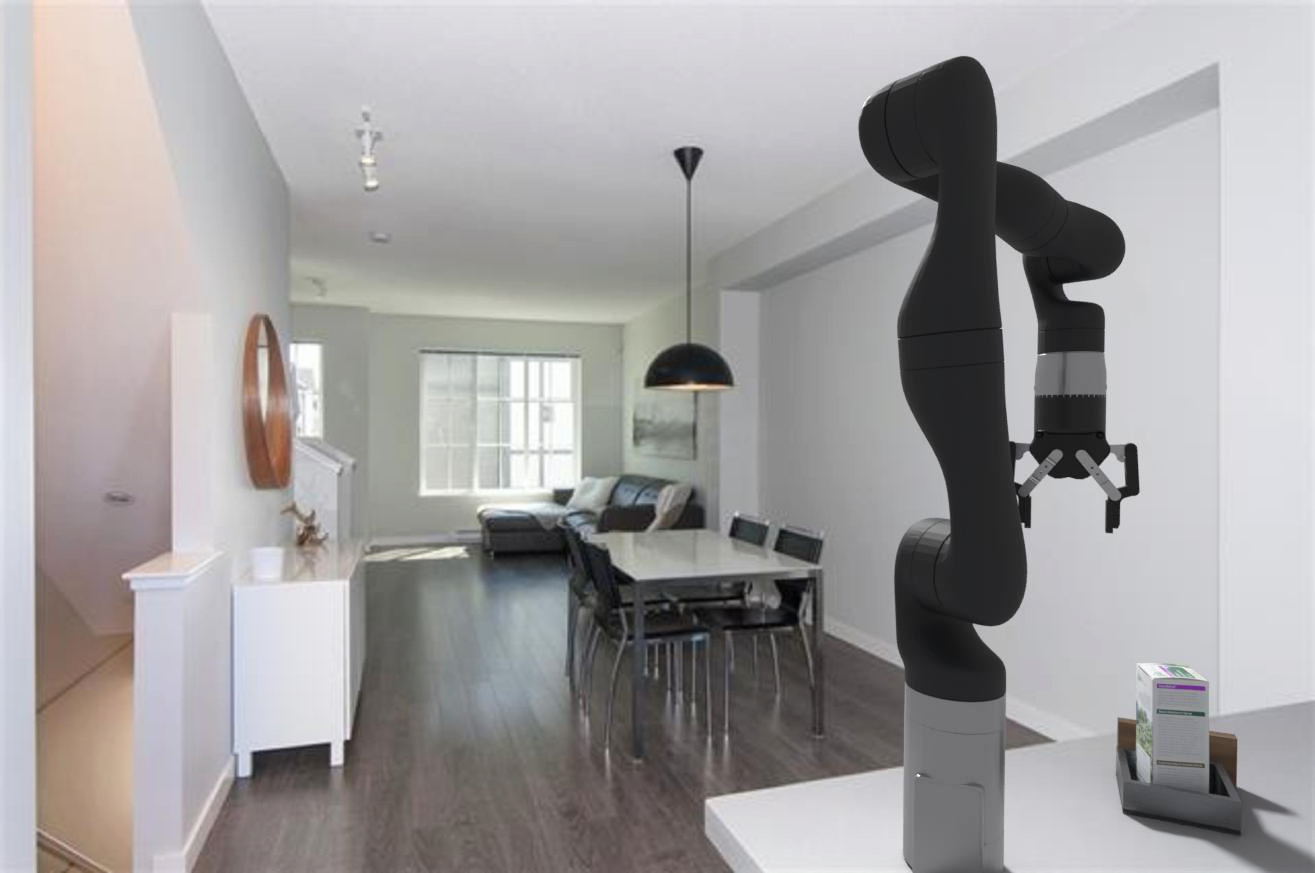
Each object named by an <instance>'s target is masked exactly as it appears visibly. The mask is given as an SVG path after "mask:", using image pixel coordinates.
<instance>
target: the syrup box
mask: <svg viewBox="0 0 1315 873" xmlns="http://www.w3.org/2000/svg"><path fill="white" fill-rule="evenodd" d="M1135 671H1136V677H1135V679H1136V681H1135V682H1136V683H1135V686H1136V688H1135V704H1136V705H1135V707H1136V709H1135V712H1136V713H1135V714H1136V715H1135V716H1136V719H1135V720H1136V781H1141V782H1147V783H1152V784H1158V785H1164V786H1169V787H1175V788H1181V789H1186V790H1192V791H1198V792H1203V793H1209V731H1210V703H1209V702H1210V683H1209V682H1210V681H1209V680H1207V679H1206V678H1204V677H1203V676H1202V675H1200V674H1199V673H1197V672H1196V671H1195V670H1193V669H1192V668H1191V667H1189V666H1188V665H1181V664H1174V663H1163V662H1143V663H1142V662H1136V666H1135Z"/></svg>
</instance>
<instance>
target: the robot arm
mask: <svg viewBox="0 0 1315 873" xmlns="http://www.w3.org/2000/svg"><path fill="white" fill-rule="evenodd" d="M997 116H998V115H997V105H996V98H995V93H994V89H993V84H992V82H991V80H990V78H989V75H988V73H987V71H986V69H985V67H984V65H982V63H981V62H980V61H979V60H978V59H976V58H974V57H973V56H968V55H959V56H955V57H952V58H949V59H946V60H943V61H941V62H940V61H939V62H937V63H935V64H932V65H931V66H929V67H926V68H924V69H922V70H919V71H917V72H914V73H911V74H910V75H907V76H905V77H902V78H899V79H897V80H894V81H893V82H891V83H888V84H886V85H884V86H882V87H880V88H878V89H877V90H875V91H874V92H873V93H872V94H870V95H869V96H868V98H867V99H866V100H865V101H864V103H863V105H862V107H861V110H860V113H859V117H858V125H857V126H858V128H857V131H858V140H859V144H860V148H861V150H862V152H863V155H864V158H865V159H866V160H867V162H868V164H869V165H870V166H871V168H872V169H873V170H874V171H875V172H876V173H877V174H878V175H879V176H881V177H882V178H884V179H885V180H887V181H889V182H890V183H893V184H895V185H897V186H899V187H901V188H904V189H906V190H908V191H911V192H913V193H916V194H918V195H920V196H922V197H925V198H927V199H928V200H931V201H934V202H936V203H937V211H936V216H935V217H936V218H935V222H934V227H933V230H932V233H931V237H930V238H929V242H928V245H927V247H926V249H925V251H924V253H923V255H922V258H921V260H920V261H919V263H918V266H917V268H916V270H915V273H914V275H913V277H912V279H911V281H910V283H909V285H908V287H907V289H906V292H905V295H904V297H903V299H902V301H901V305H900V308H899V312H898V316H897V322H896V323H897V324H896V331H897V332H896V334H897V335H896V336H897V347H898V348H897V350H898V361H899V374H900V383H901V388H902V392H903V394H904V397H905V400H906V403H907V405H908V407H909V409H910V411H911V413H912V415H913V417H914V419H915V422H916V423H917V425H918V427H919V428H920V430H921V432H922V433H923V436H925V439H926V441H927V442H928V444H929V446H930V448H931V449H932V451H933V453H934V455H935V457H936V460H937V462H938V464H939V466H940V469H941V471H942V475H943V479H944V482H945V486H946V487H945V488H946V492H947V501H948V511H949V518H942V517H928V518H927V517H926V518H923V519H921V520H919V521H916V522H915V523H913V524H912V525H911V526H910V527H908V529H907V530H906V532H905V533H904V534H903V536H902V538H901V540H900V542H899V544H898V547H897V551H896V555H895V559H894V560H895V561H894V571H893V572H894V574H893V582H894V584H893V586H894V591H893V592H894V612H895V613H894V615H895V617H894V618H895V634H896V635H895V636H896V645H897V646H896V647H897V650H898V653H899V656H900V659H901V661H902V663H903V666H904V709H903V710H904V712H903V786H902V787H903V789H902V790H903V792H902V793H903V796H902V798H903V800H902V802H903V803H902V805H903V806H902V807H903V808H902V855H903V858H904V859H905V862H907V864H908V865H909V866H910V867H911V868H912V869H911V872H912V873H1004V869H1005V868H1004V867H1005V865H1004V864H1005V862H1004V861H1005V858H1004V857H1005V792H1006V791H1005V789H1006V788H1005V786H1006V784H1005V782H1006V776H1005V775H1006V724H1007V719H1006V718H1007V715H1006V714H1007V670H1006V665H1005V664H1004V661H1003V660H1002V658H1001V657H1000V656H998V655H997V653H996V652H994V650H992V649H991V648H990V647H989V646H988V645H987V644H986V643H985V642H984V640H983V639H982V638H981V637H980V635H979V633H978V632H977V630H976V629H975V626H974V625H977V626H983V627H997V626H1001V625H1003V624H1006V623H1007V622H1009V621H1010V620H1011V619H1012V618H1013V617H1014V616H1016V614H1017V612H1018V611H1019V609H1020V608H1021V605H1022V603H1023V600H1024V597H1025V593H1026V589H1027V583H1028V560H1027V558H1028V556H1027V549H1026V542H1025V537H1024V530H1023V524H1024V529H1031V528H1032V496H1031V492H1032V491H1034V489H1035V488H1036V487H1037V486H1038V485H1039V484H1040V483H1041V481H1043V479H1044V478H1045V477H1046V476H1048V477H1050V478H1053V479H1055V480H1057V479H1058V480H1059V479H1061V480H1062V479H1066V478H1071V479H1074V480H1085V479H1087V478H1089V477H1092V479H1094V481H1095V482H1096V483H1097V484H1098V486H1099V487H1100V488H1101V489H1102V491H1104V493H1105V494H1106V496H1107V499H1105V502H1104V503H1105V506H1104V507H1105V509H1104V510H1105V512H1104V514H1105V516H1104V517H1105V518H1104V532H1105V534H1114V529H1119V527H1120V525H1121V502H1122V501H1123V500H1124V499H1126V498H1130V497H1136V496H1138V495H1139V494H1140V491H1141V490H1140V489H1141V488H1140V472H1139V468H1140V467H1139V454H1138V453H1139V452H1138V446H1137V445H1136V444H1135V443H1133V442H1127V443H1124V444H1122V443H1120V444H1119V443H1118V444H1109V441H1108V440H1107V437H1106V434H1107V389H1108V384H1107V380H1108V379H1107V378H1108V377H1107V374H1108V372H1107V364H1106V358H1105V352H1106V351H1105V350H1106V349H1105V345H1106V344H1105V342H1106V341H1105V340H1106V339H1105V338H1106V337H1105V336H1106V333H1105V332H1106V316H1105V310H1104V308H1103V307H1102V306H1101V305H1099V304H1098V303H1095V302H1091V301H1082V300H1081V301H1080V300H1071V299H1069V298H1068V296H1067V295H1066V293H1065V290H1064V285H1065V284H1073V283H1080V282H1089V281H1097V280H1101V279H1104V278H1106V277H1109V276H1111V275H1112V274H1113V273H1115V272H1116V271H1117V270H1118V268H1119V267H1120V266H1121V264H1122V263H1123V260H1124V258H1125V255H1126V240H1125V237H1124V233H1123V231H1122V230H1121V228H1120V227H1119V225H1118V224H1117V223H1116V222H1115V221H1114V219H1112V218H1111V217H1110V216H1109V215H1107V214H1105V213H1103V212H1101V211H1099V210H1097V209H1094V208H1091V207H1089V206H1086V205H1084V204H1081V203H1078V202H1076V201H1075V202H1074V201H1071V200H1068V199H1066V198H1065V197H1064V196H1062V194H1060V193H1059V192H1058V191H1057V190H1056V189H1055V188H1054V187H1053V186H1052V185H1050V183H1048V182H1047V181H1046V180H1045V179H1044V178H1042V177H1041V176H1039V175H1038V174H1036V173H1034V172H1032V171H1030V170H1028V169H1026V168H1024V167H1020V166H1016V165H1014V164H1010V163H1006V162H1002V161H998V117H997ZM996 236H997V238H1000V239H1001V240H1002V241H1003V242H1005V243H1006V244H1007V245H1008V246H1010V247H1011V248H1012V249H1013V250H1015V251H1017V252H1018V253H1020V254H1022V256H1021V257H1022V260H1021V262H1022V266H1023V270H1024V275H1025V277H1026V281H1027V283H1028V284H1027V285H1028V287H1029V291H1030V294H1031V299H1032V301H1033V302H1032V303H1033V307H1034V311H1035V313H1036V314H1035V315H1036V320H1037V358H1036V363H1035V364H1036V366H1035V372H1034V385H1033V390H1034V401H1033V402H1034V405H1033V408H1034V410H1033V411H1034V412H1033V421H1034V422H1033V439H1031V440H1032V441H1031V442H1030V443H1026V442H1016V441H1014V440H1010V435H1009V434H1010V433H1009V423H1008V412H1007V411H1008V410H1007V402H1006V380H1005V379H1006V374H1005V373H1006V371H1005V370H1006V369H1005V368H1006V367H1005V366H1006V365H1005V349H1004V334H1003V324H1002V312H1001V305H1000V304H1001V303H1000V292H999V280H998V278H999V277H998V264H997V262H998V261H997V241H996V240H997V239H996ZM1027 452H1029V454H1031V456H1032V457H1033V459H1034V460H1035V461H1036V463H1037V464H1038V466H1037V467H1036V468H1035V469H1034V470H1033V472H1032V473H1031V474H1030V475H1029V476H1028V477H1027V479H1026V480H1025V481H1024V482H1023V483H1019V482H1017V481H1015V477H1016V465H1017V464H1016V462H1017V461H1019V460H1021V459H1023V457H1024V454H1025V453H1027ZM1110 454H1113V455H1114V456H1115V457H1116V460H1117V462H1120V463H1124V483H1125V484H1124V485H1123V486H1122V485H1121V486H1119V487H1116V485H1114V483H1113V482H1112V481H1111V480H1110V478H1109V477H1108V476H1107V475H1106V474H1105V472H1104V471H1103V470H1102V469H1101V468H1100V466H1101V465H1102V464H1103V462H1104V461H1105V460H1106V459H1107V458H1108V457H1109V456H1110Z"/></svg>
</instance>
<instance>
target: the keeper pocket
mask: <svg viewBox="0 0 1315 873" xmlns="http://www.w3.org/2000/svg"><path fill="white" fill-rule="evenodd" d="M1115 749H1116V750H1115V752H1116V753H1115V756H1116V757H1115V758H1116V759H1115V776H1116V777H1115V778H1116V782H1117V787H1118V788H1117V789H1118V793H1119V798H1120V804H1121V810H1122V813H1123V814H1128V815H1132V816H1137V817H1143V818H1149V819H1154V820H1158V821H1164V822H1168V823H1175V824H1179V825H1185V826H1190V827H1195V828H1199V829H1206V830H1211V831H1216V832H1221V833H1226V834H1231V835H1236V836H1242V801H1241V799H1240V796H1239V795H1238V792H1237V789H1236V790H1235V788H1234V786H1233V784H1232V782H1231V780H1230V778H1229V776H1228V774H1227V772H1226V770H1225V768H1224V766H1223V764H1222V763H1220V762H1213V761H1209V793H1203V792H1198V791H1192V790H1186V789H1181V788H1175V787H1169V786H1164V785H1158V784H1152V783H1147V782H1141V781H1136V749H1133V748H1127V747H1121V746H1117V745H1116V747H1115Z"/></svg>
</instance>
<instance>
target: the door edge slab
mask: <svg viewBox="0 0 1315 873" xmlns="http://www.w3.org/2000/svg"><path fill="white" fill-rule="evenodd" d="M1116 729H1117V730H1116V732H1117V733H1116V734H1117V736H1116V739H1117V740H1116V741H1117V742H1116V746H1121V747H1127V748H1133V749H1136V719H1132V718H1126V717H1119V716H1117V728H1116ZM1209 761H1213V762H1220V763H1222V764H1223V766H1224V768H1225V770H1226V772H1227V774H1228V776H1229V778H1230V780H1231V782H1232V784H1233V786H1234V788H1235V790H1236V791H1237V785H1238V784H1237V783H1238V782H1237V779H1238V778H1237V776H1238V738H1237V736H1236V734H1235V733H1226V732H1220V731H1214V730H1209Z"/></svg>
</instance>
